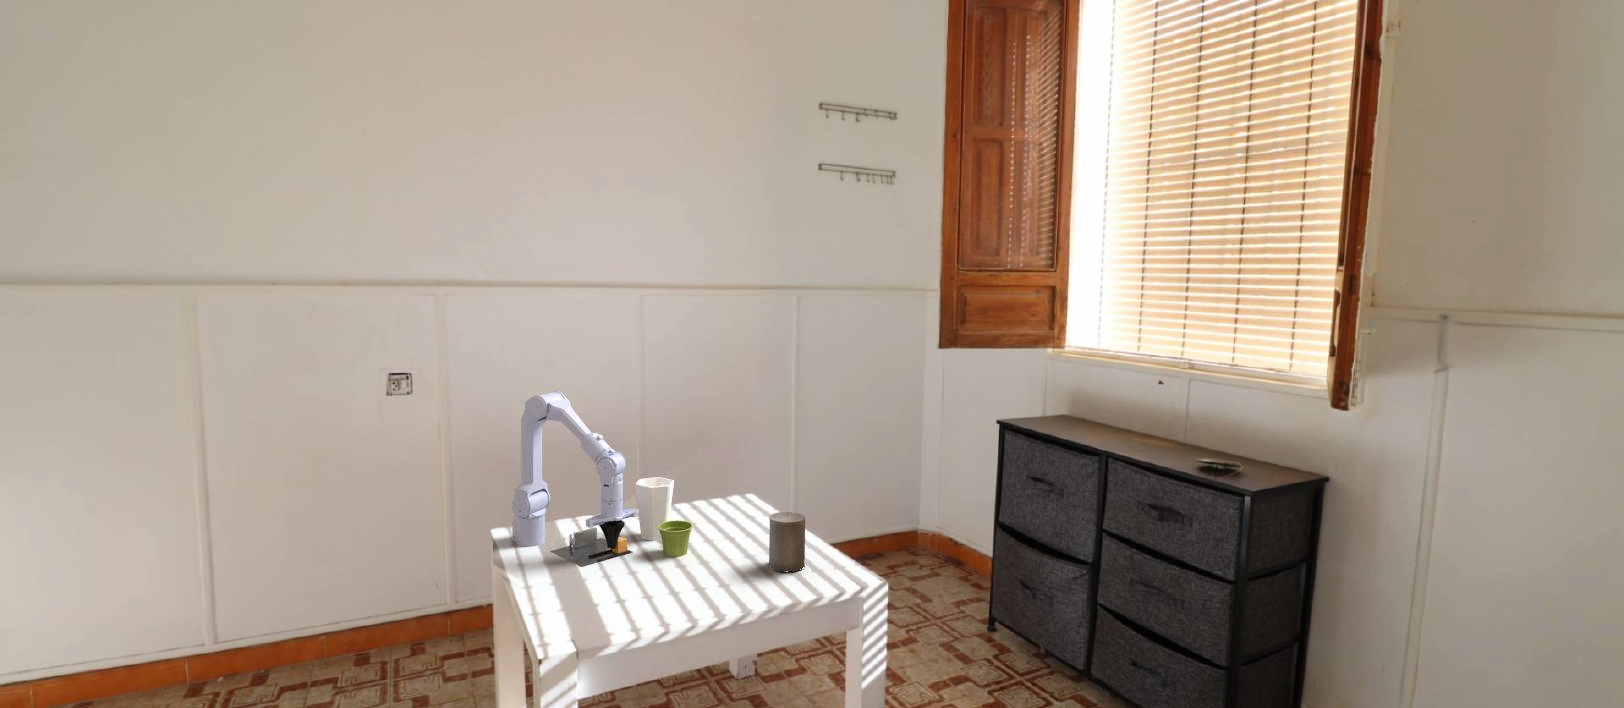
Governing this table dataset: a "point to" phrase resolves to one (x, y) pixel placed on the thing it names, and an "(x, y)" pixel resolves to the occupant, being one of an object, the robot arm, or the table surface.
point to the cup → (653, 505)
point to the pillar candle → (787, 541)
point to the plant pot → (675, 537)
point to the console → (588, 552)
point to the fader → (620, 545)
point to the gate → (584, 537)
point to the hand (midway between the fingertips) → (611, 547)
